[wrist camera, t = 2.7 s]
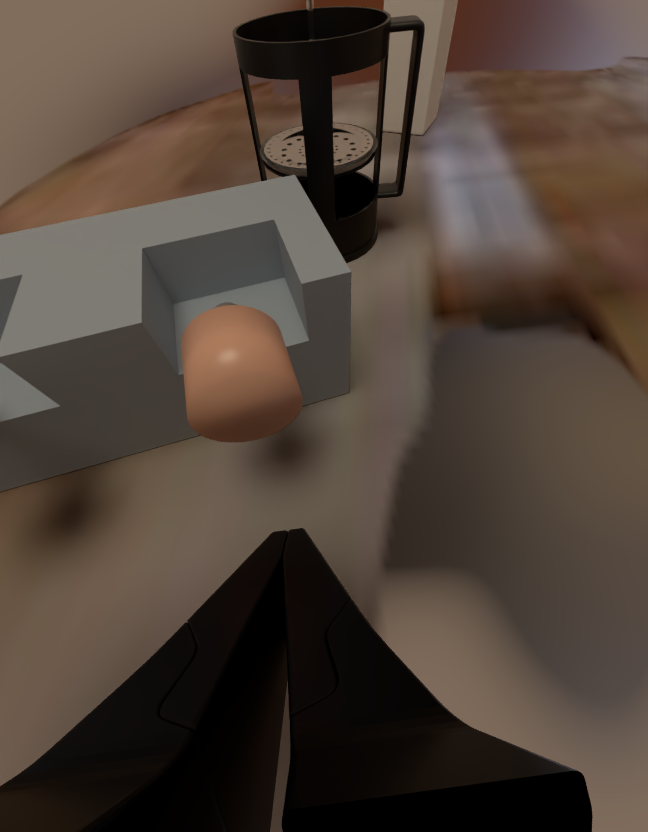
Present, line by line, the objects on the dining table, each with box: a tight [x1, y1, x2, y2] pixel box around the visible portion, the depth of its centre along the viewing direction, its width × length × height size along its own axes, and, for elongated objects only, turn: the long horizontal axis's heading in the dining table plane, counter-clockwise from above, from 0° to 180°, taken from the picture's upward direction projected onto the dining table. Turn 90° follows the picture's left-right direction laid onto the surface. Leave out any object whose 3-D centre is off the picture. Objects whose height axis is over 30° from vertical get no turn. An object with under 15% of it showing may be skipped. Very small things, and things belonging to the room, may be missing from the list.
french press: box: [233, 0, 425, 262], centre depth 19 cm, size 12×9×23 cm
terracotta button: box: [181, 302, 303, 442], centre depth 11 cm, size 5×4×4 cm
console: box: [0, 175, 351, 492], centre depth 16 cm, size 9×32×8 cm, turn 107°
